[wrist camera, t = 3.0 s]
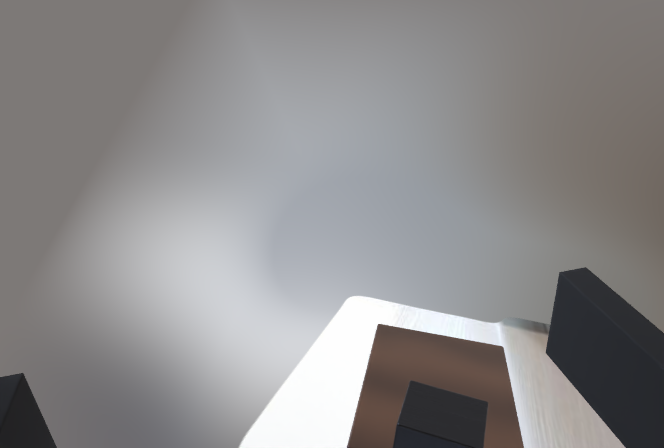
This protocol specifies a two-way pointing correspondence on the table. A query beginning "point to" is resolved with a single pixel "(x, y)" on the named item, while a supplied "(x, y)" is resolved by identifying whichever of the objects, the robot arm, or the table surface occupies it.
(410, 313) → the table surface
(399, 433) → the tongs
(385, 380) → the pedestal
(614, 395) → the robot arm
